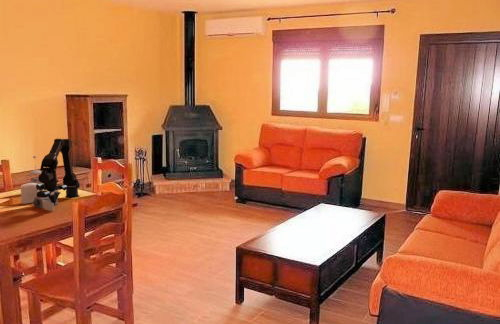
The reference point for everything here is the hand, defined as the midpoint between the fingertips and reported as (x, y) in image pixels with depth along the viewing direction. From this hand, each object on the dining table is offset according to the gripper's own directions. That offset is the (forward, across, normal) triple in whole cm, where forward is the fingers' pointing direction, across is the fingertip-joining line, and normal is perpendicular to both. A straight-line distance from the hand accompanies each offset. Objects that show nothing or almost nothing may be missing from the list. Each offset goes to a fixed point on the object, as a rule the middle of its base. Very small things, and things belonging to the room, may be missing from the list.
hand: (53, 205), depth 250 cm
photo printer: (+4, -9, -25) cm, 27 cm away
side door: (+3, +1, -4) cm, 5 cm away
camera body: (+4, -7, -11) cm, 14 cm away
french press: (+5, -31, -41) cm, 52 cm away
